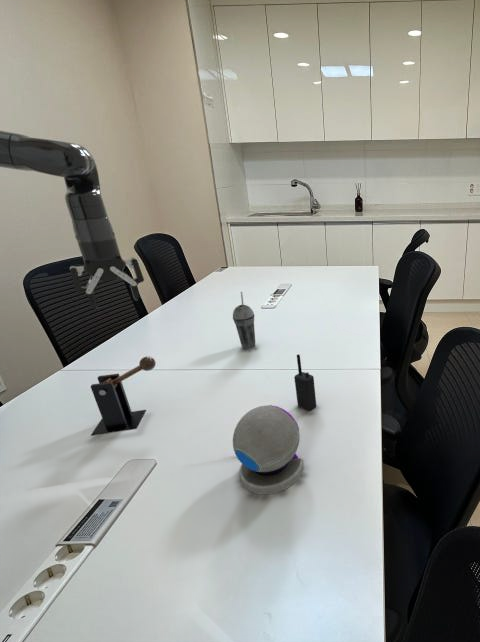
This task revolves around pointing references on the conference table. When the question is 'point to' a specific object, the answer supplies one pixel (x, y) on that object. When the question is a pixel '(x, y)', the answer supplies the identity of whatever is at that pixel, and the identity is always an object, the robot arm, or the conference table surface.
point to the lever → (135, 370)
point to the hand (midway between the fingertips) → (116, 303)
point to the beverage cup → (245, 325)
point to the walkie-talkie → (305, 389)
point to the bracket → (114, 407)
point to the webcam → (267, 449)
